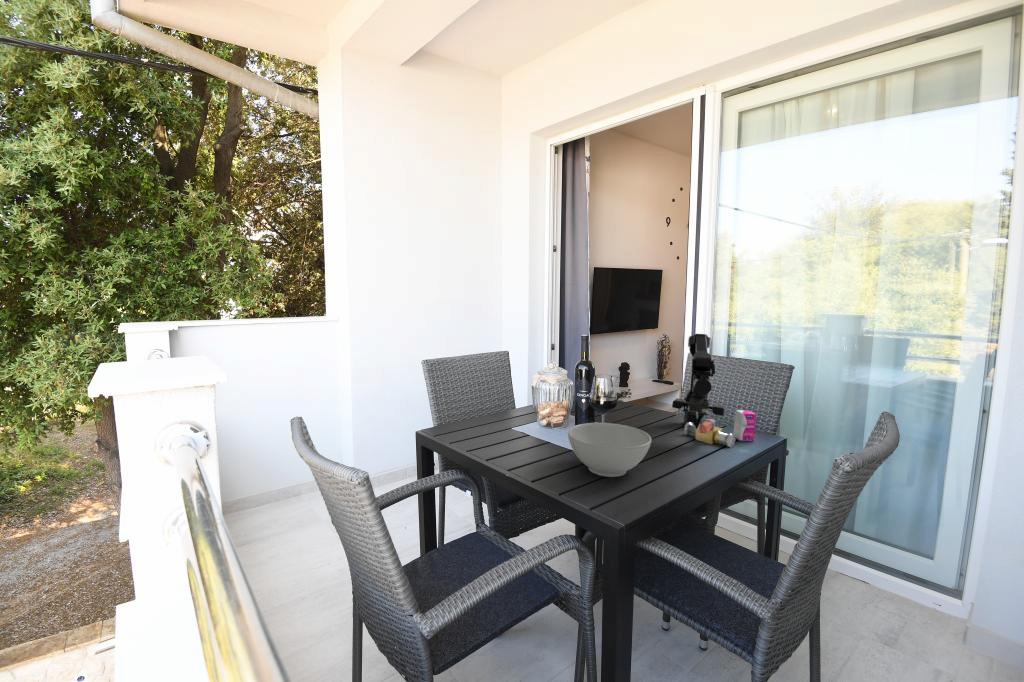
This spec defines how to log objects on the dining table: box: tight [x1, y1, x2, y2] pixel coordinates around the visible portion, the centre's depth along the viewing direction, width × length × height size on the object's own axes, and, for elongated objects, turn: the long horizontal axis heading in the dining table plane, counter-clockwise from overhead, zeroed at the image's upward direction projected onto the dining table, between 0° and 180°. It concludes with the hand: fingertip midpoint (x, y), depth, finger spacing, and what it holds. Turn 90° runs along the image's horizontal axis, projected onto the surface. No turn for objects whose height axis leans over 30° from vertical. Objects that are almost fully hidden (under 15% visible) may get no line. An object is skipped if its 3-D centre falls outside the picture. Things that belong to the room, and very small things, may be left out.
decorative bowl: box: [567, 422, 652, 478], centre depth 160 cm, size 27×27×12 cm
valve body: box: [683, 422, 736, 448], centre depth 194 cm, size 19×7×5 cm, turn 36°
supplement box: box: [732, 409, 757, 442], centre depth 197 cm, size 6×6×12 cm
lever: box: [699, 418, 716, 433], centre depth 190 cm, size 13×4×3 cm, turn 143°
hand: (696, 428), depth 188 cm, fingers closed
